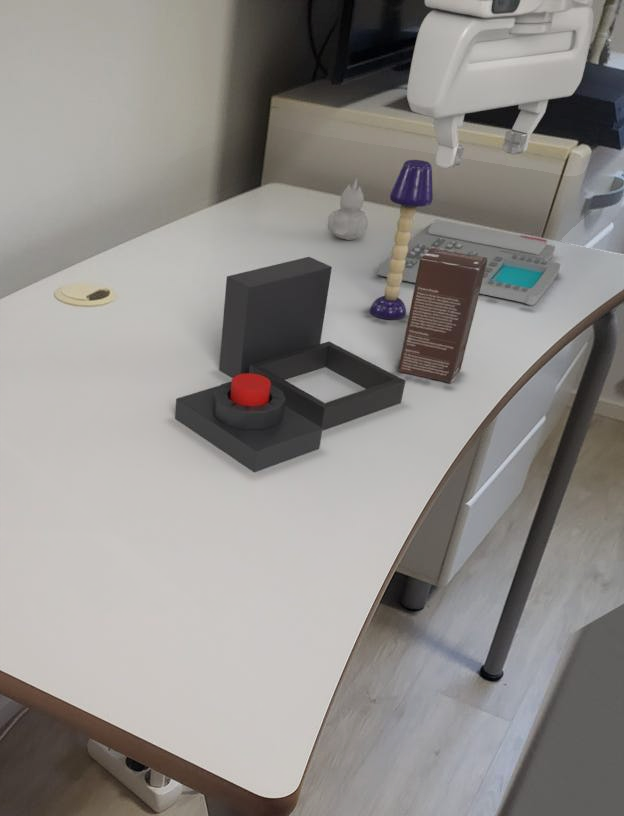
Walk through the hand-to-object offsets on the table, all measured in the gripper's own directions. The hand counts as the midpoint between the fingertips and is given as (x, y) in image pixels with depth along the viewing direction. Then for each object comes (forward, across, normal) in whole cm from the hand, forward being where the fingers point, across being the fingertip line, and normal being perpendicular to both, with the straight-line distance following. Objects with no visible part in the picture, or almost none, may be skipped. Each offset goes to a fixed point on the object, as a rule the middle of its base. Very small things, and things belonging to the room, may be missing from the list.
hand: (481, 159), depth 91 cm
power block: (+21, +26, 0) cm, 33 cm away
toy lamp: (+21, -8, -14) cm, 27 cm away
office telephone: (+21, -30, -19) cm, 41 cm away
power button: (+18, +26, 0) cm, 31 cm away
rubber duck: (+21, -22, -36) cm, 47 cm away
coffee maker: (+21, +14, -4) cm, 26 cm away
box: (+21, 0, 0) cm, 21 cm away
